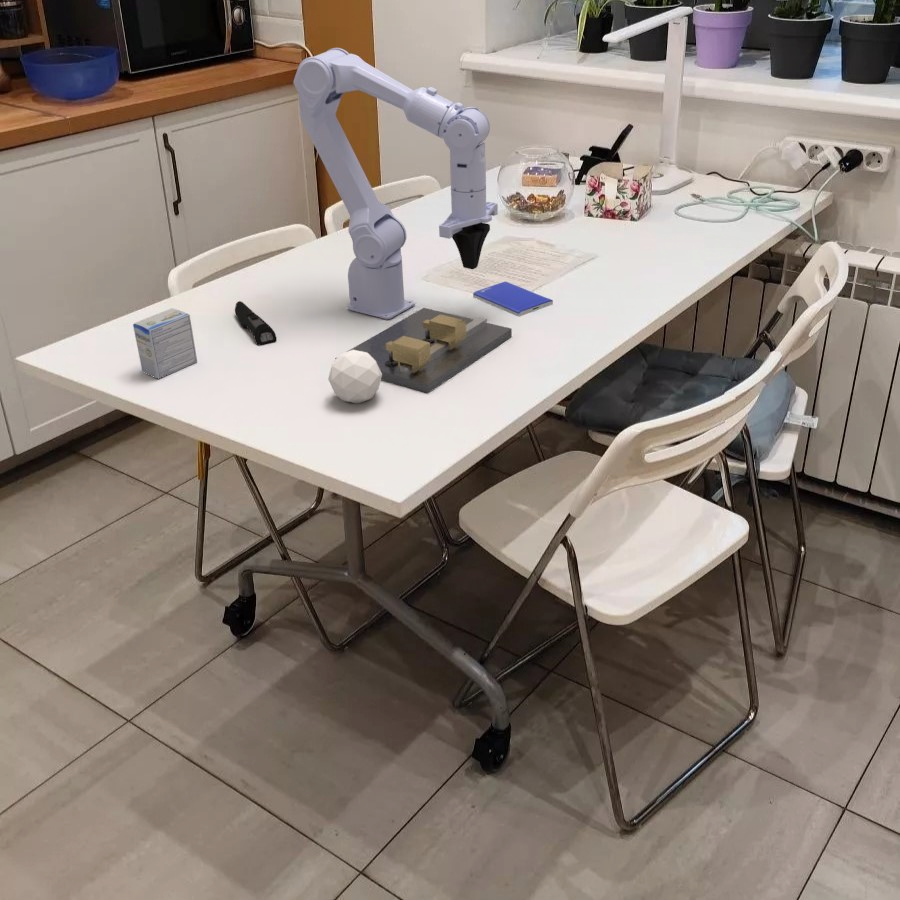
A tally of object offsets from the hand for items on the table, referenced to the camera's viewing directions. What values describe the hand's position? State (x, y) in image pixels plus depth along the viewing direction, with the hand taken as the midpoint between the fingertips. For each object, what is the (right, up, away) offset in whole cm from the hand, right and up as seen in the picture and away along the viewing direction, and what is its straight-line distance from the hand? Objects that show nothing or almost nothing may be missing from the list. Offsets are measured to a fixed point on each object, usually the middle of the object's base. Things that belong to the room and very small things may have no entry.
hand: (470, 267), depth 176 cm
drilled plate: (-7, -15, -6) cm, 18 cm away
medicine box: (-48, -18, -8) cm, 52 cm away
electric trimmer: (-37, -10, +4) cm, 39 cm away
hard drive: (+8, -5, +12) cm, 15 cm away
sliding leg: (-5, -14, -8) cm, 17 cm away
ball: (-17, -23, -20) cm, 35 cm away
